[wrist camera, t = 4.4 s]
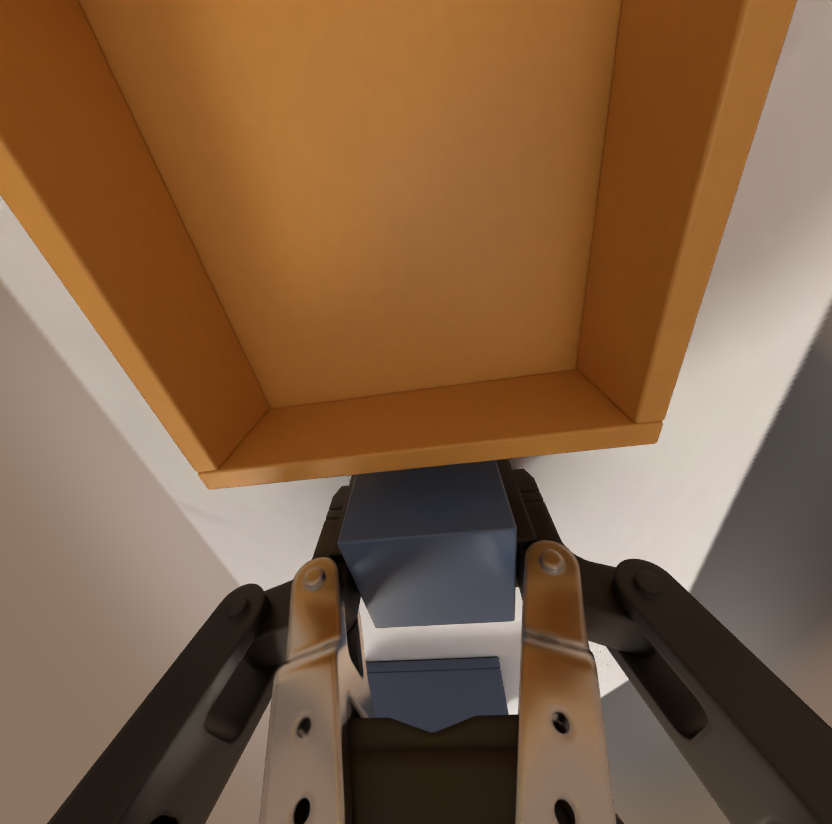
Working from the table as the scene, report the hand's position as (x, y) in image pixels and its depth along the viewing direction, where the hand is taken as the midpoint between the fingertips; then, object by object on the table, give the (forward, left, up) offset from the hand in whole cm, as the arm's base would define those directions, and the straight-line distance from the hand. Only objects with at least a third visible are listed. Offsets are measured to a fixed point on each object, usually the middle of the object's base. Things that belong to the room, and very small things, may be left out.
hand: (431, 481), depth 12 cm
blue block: (0, 0, 0) cm, 0 cm away
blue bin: (+11, -19, 0) cm, 22 cm away
